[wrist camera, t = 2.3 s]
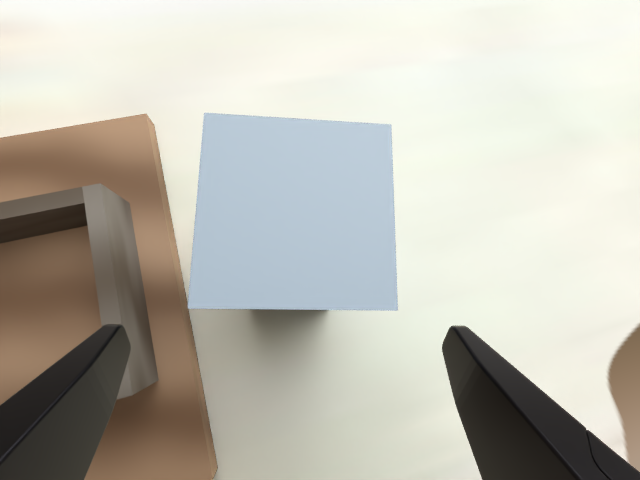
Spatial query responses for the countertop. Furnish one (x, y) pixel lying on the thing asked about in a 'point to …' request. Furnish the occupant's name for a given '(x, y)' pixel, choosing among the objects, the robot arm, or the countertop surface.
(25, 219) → the jig cradle
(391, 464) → the countertop surface
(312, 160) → the block
